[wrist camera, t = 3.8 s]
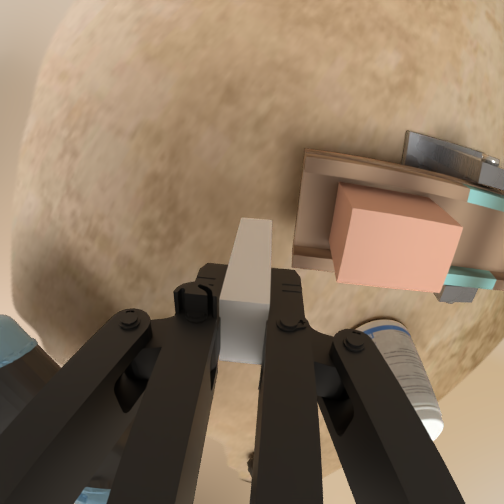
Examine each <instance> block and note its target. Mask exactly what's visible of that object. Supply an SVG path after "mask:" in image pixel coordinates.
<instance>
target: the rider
mask: <svg viewBox="0 0 504 504" xmlns="http://www.w3.org/2000/svg"><path fill="white" fill-rule="evenodd" d="M462 230H463V227H462V226H461V225H460V224H459V223H458V222H457V221H456V220H455V219H453V218H452V217H451V216H450V215H449V214H448V213H447V212H446V211H444V210H443V209H442V208H441V207H440V206H439V205H437V204H436V203H435V202H434V201H433V200H431V199H430V198H428V197H423V196H418V195H413V194H408V193H403V192H398V191H392V190H387V189H381V188H375V187H369V186H363V185H357V184H351V183H344V182H339V185H338V191H337V197H336V203H335V209H334V215H333V221H332V227H331V232H330V237H329V245H330V250H331V255H332V260H333V265H334V270H335V275H336V281H337V282H338V283H347V284H356V285H365V286H375V287H384V288H394V289H404V290H414V291H424V292H435V293H440V291H441V289H442V287H443V284H444V281H445V279H446V276H447V274H448V271H449V268H450V266H451V263H452V260H453V257H454V254H455V251H456V249H457V246H458V243H459V239H460V236H461V233H462Z"/></svg>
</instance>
